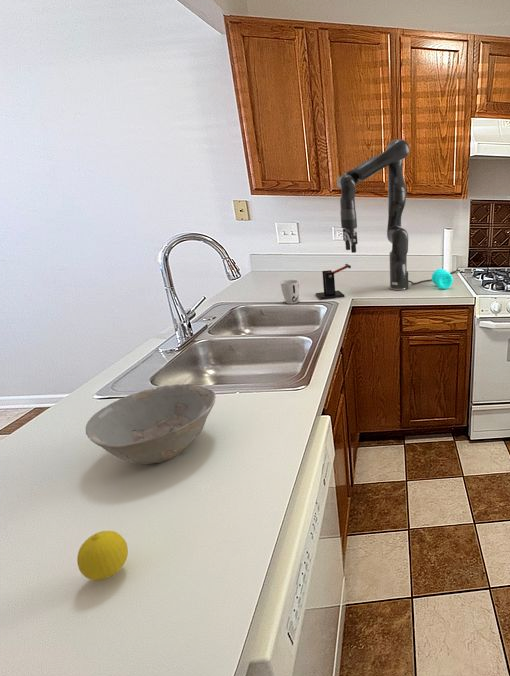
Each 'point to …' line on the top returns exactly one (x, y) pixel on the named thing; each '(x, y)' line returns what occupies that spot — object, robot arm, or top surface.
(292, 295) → the cup
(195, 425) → the ceramic bowl
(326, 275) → the bracket
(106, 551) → the lemon
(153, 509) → the top surface
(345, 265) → the lever
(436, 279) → the turquoise rounded cylinder
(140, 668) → the top surface
